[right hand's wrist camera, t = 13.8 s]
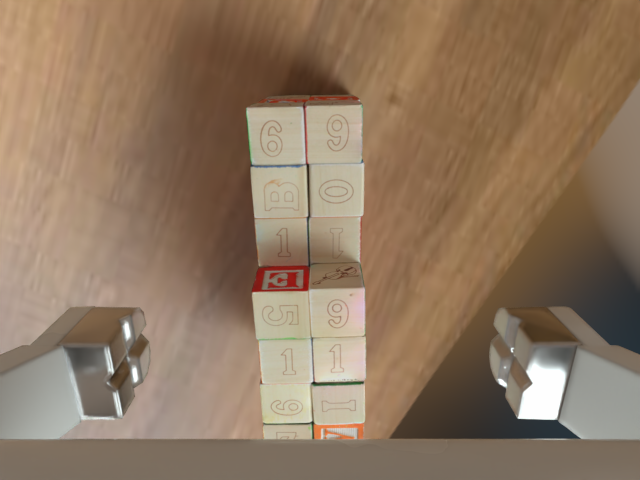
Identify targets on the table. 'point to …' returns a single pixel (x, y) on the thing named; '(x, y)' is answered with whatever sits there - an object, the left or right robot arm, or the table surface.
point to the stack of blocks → (309, 264)
